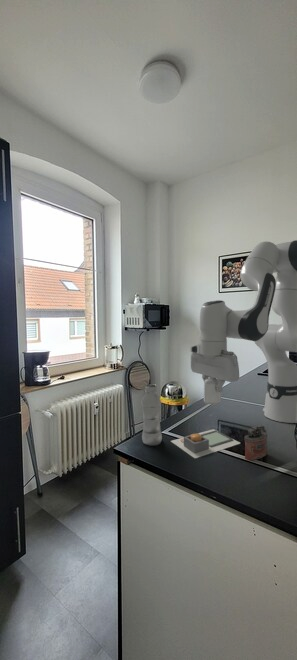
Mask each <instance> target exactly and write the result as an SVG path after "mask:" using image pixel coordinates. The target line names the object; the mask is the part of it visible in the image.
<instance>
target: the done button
mask: <svg viewBox="0 0 297 660" xmlns="http://www.w3.org/2000/svg"><path fill="white" fill-rule="evenodd" d="M190 435H191V440H192V441H193V442H199V441H202V436H201V435H200V434H197V433H192V434H190Z"/></svg>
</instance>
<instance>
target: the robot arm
mask: <svg viewBox="0 0 297 660" xmlns="http://www.w3.org/2000/svg"><path fill="white" fill-rule="evenodd" d="M274 273H275V274H276V277H275V276H274V275H273V274H274ZM239 277H240V280H241V282H242V284H243V285H244V287H246V288H248V289H249V290H251V291H255V292H256V296H255V298H254V302H253V304H252V305H253V306H252V307H250V308H248V309H244V310H233V309H232V308H229V307H228V306H227V304H226V302H225V301H224V300H219V299H218V300H212V301H211V300H210V301H205V302H204V303H203V304H202V305H201V308H200V313H199V329H200V338H199V343H197V344H195V345H192V346H190V353H191V354H190V369H191V371H192V373H196V374H200V375H202V376H201V378H202V380H203V382H204V381H205V380H206V379H209V377H213V378H216V379H217V382H219V383H218V385H217V386H215V391H217V392H221V393H222V392H223V387H224V384H225V383H226V382H228V383H235V382H238V381H239V379H240V368H239V366H240V365H239V362H238V356H237V355H236V354H235V352H233V351H228V350H227V349H228V340H227V339H238V340H239V339H240V340H247V341H252V342H254V344H255V345H256V346H257V347H258V348H259V349H260V350H261V352H262V354H264V357H265V359H266V363H267V372H268V375H267V378H268V382H267V385H266V389H267V390H266V391H267V392H266V394H265V401H264V407H263V408H262V412H263V414H264V416H265V417H266V418H268V419H269V420H272V421H276V422H280V423H286V424H287V423H289V424H294V423H295V424H297V364H296V363H295V362H294V361H293V360H292V359H291V358H289V356H288V355H287V352H289V353H291V352H292V353H297V239H296V240H292V241H288V242H281V243H277V244H275V243H274V242H271V241H262V242H259V243H258V244H257V245H255V247H253V249H252V251H251V252H250V253H249V255H248V256H247V257H246V259H245V262H243V265H242V267H241V269H240V273H239ZM271 308H272V311H273V313H275V314H276V315H278V316H280V317H281V319H282V320H281V322H282V324H276V323H275V324H273V323H272V324H270V323H269V322H270V321H269V320H270V314H271Z"/></svg>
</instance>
